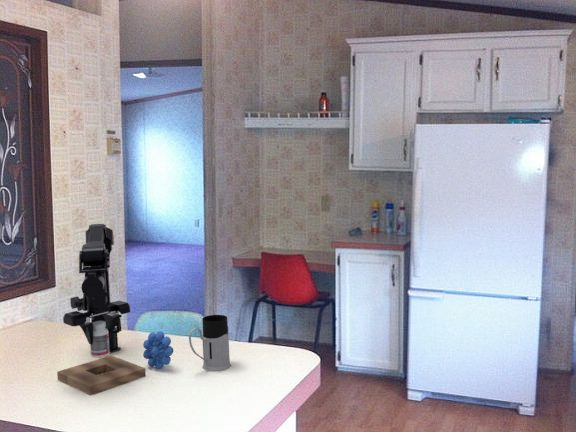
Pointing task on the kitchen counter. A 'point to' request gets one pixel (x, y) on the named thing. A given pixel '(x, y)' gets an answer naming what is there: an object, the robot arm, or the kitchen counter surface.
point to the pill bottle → (100, 340)
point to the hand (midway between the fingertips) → (99, 341)
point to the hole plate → (87, 374)
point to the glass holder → (214, 343)
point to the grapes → (157, 350)
